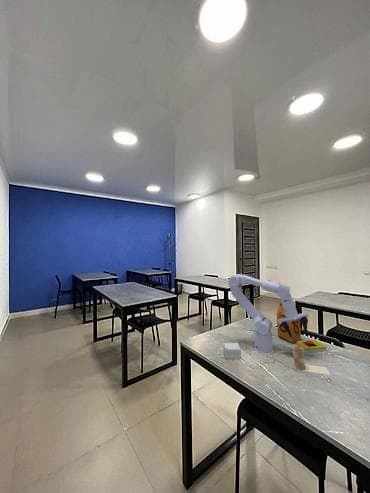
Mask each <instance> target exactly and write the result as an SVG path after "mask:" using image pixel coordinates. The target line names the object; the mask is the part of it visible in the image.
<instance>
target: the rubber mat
mask: <svg viewBox="0 0 370 493" xmlns="http://www.w3.org/2000/svg"><path fill="white" fill-rule="evenodd" d="M302 371H303V372H308V373H314V374H321V375H326V376H327V375H328V376H330V372H329V370H328V368H327V367H326V366H325V367H324V366H319V365H310V364H306V363H305V370H302Z"/></svg>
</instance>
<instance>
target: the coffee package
mask: <svg viewBox="0 0 370 493" xmlns="http://www.w3.org/2000/svg"><path fill="white" fill-rule="evenodd" d="M278 302H279V303H278V304H279V306H278V307H277V311H276V323H277V324H276V326H277V327H276V328H277V331H276V332H277V336H278V337H279V338H280V337H281V338H282V339H284V340H285V341H288V342H290V343H291V344H295V343H296V344H297V341H302V334H301V332H302V329H301V321H300V319H298V320H294V321H289V322H286V323H287V324H288V325H289V329H290V332H291V335H292V337H290V336H289V334H288V332H287V331H286V329H285V328H284V327H283V326H282V324H279V322H278V319H281V318H284V317H286V315H285V312H284V309H283V306H282V303H281V299H280V300H279V301H278ZM294 305H295V303H294ZM295 308H296V310H297V307H296V305H295ZM297 313H298V314H299V312H298V310H297Z"/></svg>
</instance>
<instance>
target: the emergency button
mask: <svg viewBox="0 0 370 493" xmlns="http://www.w3.org/2000/svg"><path fill="white" fill-rule="evenodd" d="M296 345H302V347H303V351H304V353H306V354H313V353H314V354H315V353H325V352H326V353H327V352H328V353H330V352H331V350H330V349H328V348H327V346H326V345H325V344H323V343H321V342H320V341H318V340H317V339H307V340H301V341H297V342H296Z"/></svg>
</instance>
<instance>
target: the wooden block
mask: <svg viewBox="0 0 370 493" xmlns="http://www.w3.org/2000/svg"><path fill="white" fill-rule="evenodd" d="M292 352H293V353H292V355H293V361H294V362H293V364H294V368H295V369H297V370H302V371H303V370H305V364H306V363H305V352H304V351H303V347H302V345H297V344H292Z"/></svg>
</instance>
